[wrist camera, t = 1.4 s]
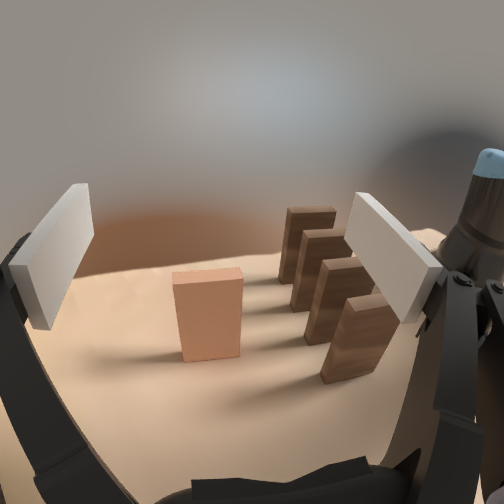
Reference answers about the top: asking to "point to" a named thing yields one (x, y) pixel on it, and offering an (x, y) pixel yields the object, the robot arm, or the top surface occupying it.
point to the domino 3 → (315, 262)
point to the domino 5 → (359, 338)
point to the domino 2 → (294, 228)
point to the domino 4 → (335, 296)
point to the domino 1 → (209, 312)
